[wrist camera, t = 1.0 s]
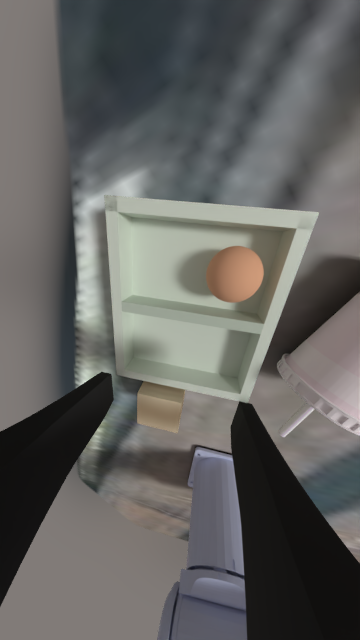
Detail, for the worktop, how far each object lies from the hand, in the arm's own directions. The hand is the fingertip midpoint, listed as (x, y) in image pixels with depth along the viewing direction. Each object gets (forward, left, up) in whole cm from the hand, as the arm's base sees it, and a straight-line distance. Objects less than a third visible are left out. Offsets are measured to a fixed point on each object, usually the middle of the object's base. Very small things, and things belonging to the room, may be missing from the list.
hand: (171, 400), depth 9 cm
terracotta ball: (+6, -3, -7) cm, 10 cm away
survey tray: (+3, 0, -7) cm, 8 cm away
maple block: (-6, +1, -8) cm, 10 cm away
